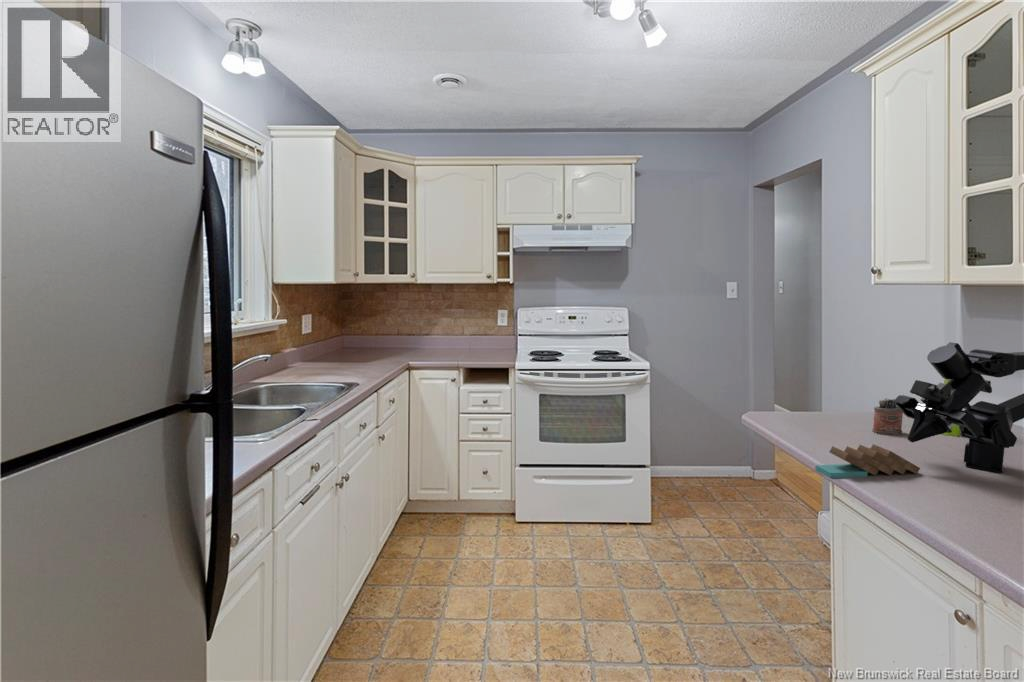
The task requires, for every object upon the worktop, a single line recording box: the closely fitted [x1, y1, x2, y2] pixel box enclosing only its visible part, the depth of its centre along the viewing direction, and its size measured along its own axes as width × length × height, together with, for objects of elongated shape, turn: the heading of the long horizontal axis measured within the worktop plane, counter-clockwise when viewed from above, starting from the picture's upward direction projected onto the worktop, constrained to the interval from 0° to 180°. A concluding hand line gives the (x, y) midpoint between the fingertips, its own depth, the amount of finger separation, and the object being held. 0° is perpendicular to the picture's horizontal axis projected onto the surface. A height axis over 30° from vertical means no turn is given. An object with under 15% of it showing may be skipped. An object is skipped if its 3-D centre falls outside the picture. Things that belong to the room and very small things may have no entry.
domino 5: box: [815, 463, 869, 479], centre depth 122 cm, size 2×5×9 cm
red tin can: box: [871, 397, 904, 435], centre depth 154 cm, size 8×3×10 cm, turn 92°
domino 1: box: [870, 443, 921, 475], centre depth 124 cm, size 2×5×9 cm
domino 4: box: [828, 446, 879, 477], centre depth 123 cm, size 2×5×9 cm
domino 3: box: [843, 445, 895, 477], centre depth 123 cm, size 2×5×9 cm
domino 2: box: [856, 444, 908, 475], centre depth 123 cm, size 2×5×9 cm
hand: (909, 440), depth 123 cm, fingers closed
